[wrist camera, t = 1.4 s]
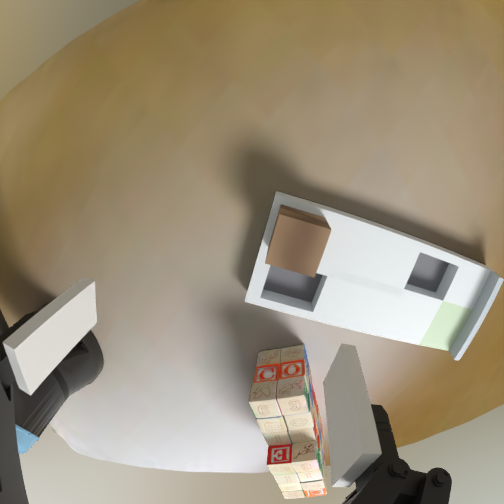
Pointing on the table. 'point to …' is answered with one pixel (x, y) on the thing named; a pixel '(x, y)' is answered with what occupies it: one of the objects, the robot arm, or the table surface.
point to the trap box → (379, 283)
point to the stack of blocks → (290, 421)
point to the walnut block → (298, 241)
